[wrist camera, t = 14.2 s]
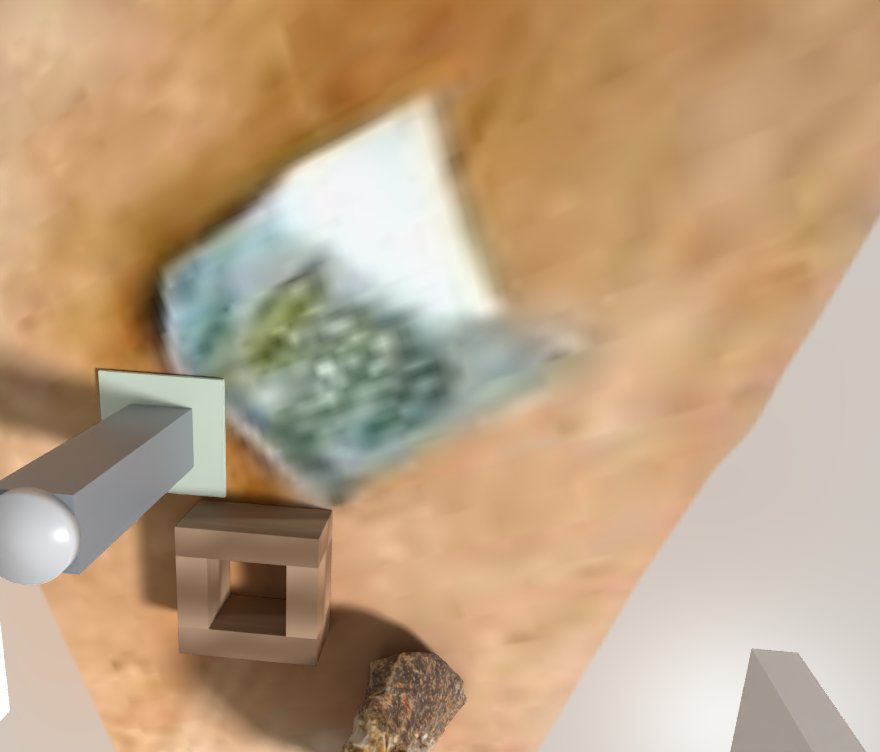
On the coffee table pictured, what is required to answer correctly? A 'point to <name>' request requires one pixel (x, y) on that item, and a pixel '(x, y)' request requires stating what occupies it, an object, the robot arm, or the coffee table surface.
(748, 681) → the robot arm
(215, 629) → the brown square frame
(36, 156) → the coffee table surface
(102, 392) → the mat
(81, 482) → the plug
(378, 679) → the rock
